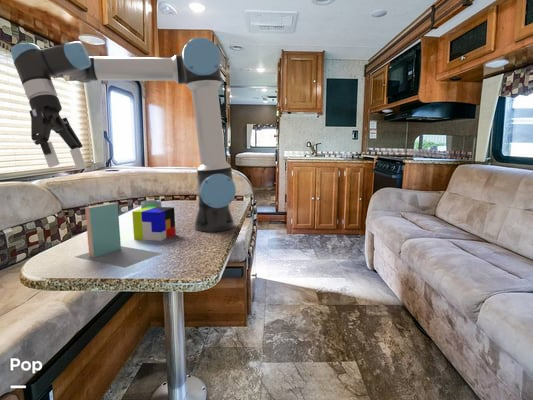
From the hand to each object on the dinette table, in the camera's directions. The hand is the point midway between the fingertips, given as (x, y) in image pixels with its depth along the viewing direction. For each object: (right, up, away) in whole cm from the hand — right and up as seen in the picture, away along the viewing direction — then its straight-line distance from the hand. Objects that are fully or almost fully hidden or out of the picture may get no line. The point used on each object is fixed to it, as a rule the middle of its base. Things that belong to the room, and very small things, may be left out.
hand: (69, 167), depth 97 cm
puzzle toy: (+20, -23, +18) cm, 35 cm away
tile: (+11, -25, -1) cm, 27 cm away
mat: (+16, -26, -3) cm, 31 cm away
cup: (+13, -20, +35) cm, 43 cm away
